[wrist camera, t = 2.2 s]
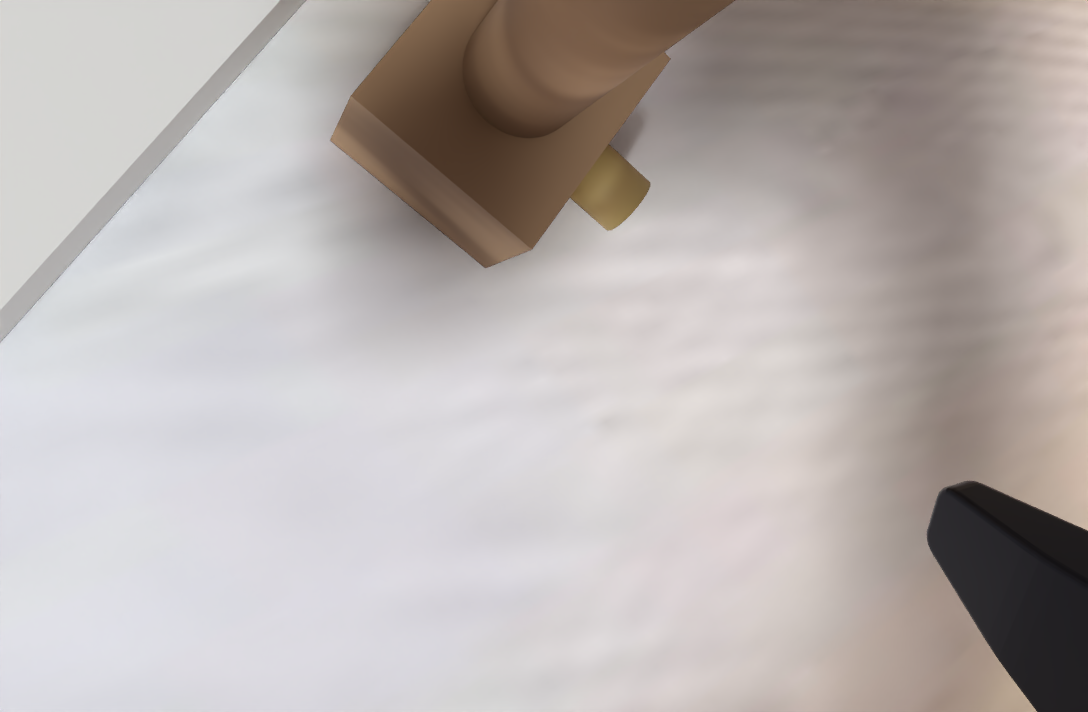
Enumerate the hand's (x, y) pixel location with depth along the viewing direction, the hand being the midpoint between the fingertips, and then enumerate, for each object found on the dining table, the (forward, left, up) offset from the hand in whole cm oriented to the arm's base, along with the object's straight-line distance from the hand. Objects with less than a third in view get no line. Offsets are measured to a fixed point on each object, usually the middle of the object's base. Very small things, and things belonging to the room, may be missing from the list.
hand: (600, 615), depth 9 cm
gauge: (+4, -9, -12) cm, 16 cm away
